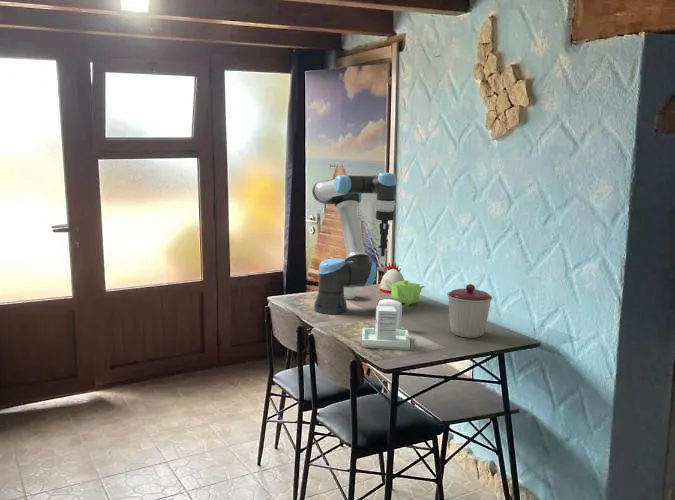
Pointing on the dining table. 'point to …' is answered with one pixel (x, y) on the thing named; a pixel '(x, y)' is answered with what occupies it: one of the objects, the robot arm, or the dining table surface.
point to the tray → (371, 342)
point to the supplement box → (386, 323)
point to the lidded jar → (350, 292)
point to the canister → (468, 311)
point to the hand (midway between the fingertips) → (382, 260)
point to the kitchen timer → (390, 278)
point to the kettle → (405, 292)
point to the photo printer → (397, 306)
